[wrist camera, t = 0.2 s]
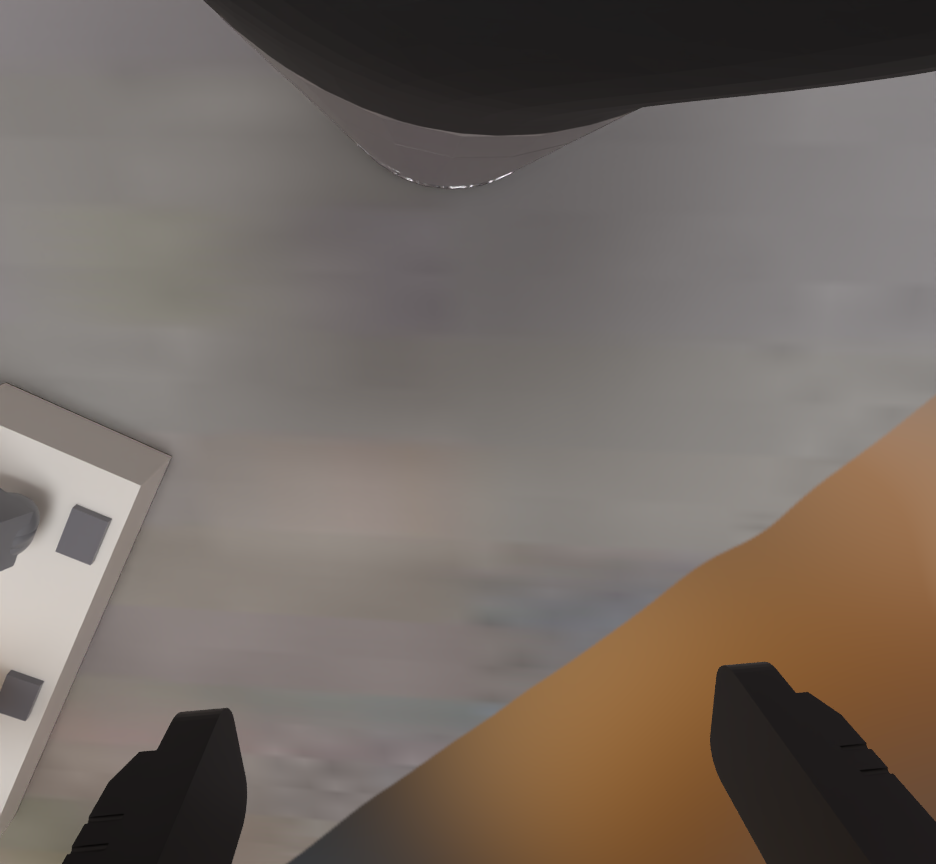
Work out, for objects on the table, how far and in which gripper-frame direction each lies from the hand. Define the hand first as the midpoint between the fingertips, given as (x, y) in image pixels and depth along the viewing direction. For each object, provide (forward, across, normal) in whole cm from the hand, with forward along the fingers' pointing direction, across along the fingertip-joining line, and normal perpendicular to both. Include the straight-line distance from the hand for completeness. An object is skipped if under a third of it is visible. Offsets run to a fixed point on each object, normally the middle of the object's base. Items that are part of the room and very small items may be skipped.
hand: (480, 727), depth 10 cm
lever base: (+18, +21, +9) cm, 29 cm away
